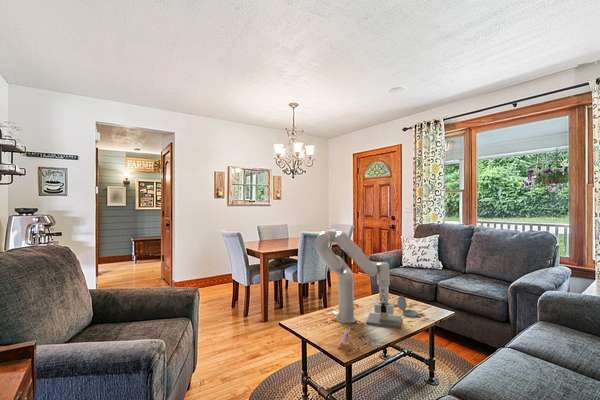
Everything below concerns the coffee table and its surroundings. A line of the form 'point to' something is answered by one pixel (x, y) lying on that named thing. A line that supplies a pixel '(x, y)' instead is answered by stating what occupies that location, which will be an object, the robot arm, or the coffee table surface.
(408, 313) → the pocket watch
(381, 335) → the coffee table surface
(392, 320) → the grey piece
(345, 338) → the lily
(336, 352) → the coffee table surface
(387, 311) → the slotted block
